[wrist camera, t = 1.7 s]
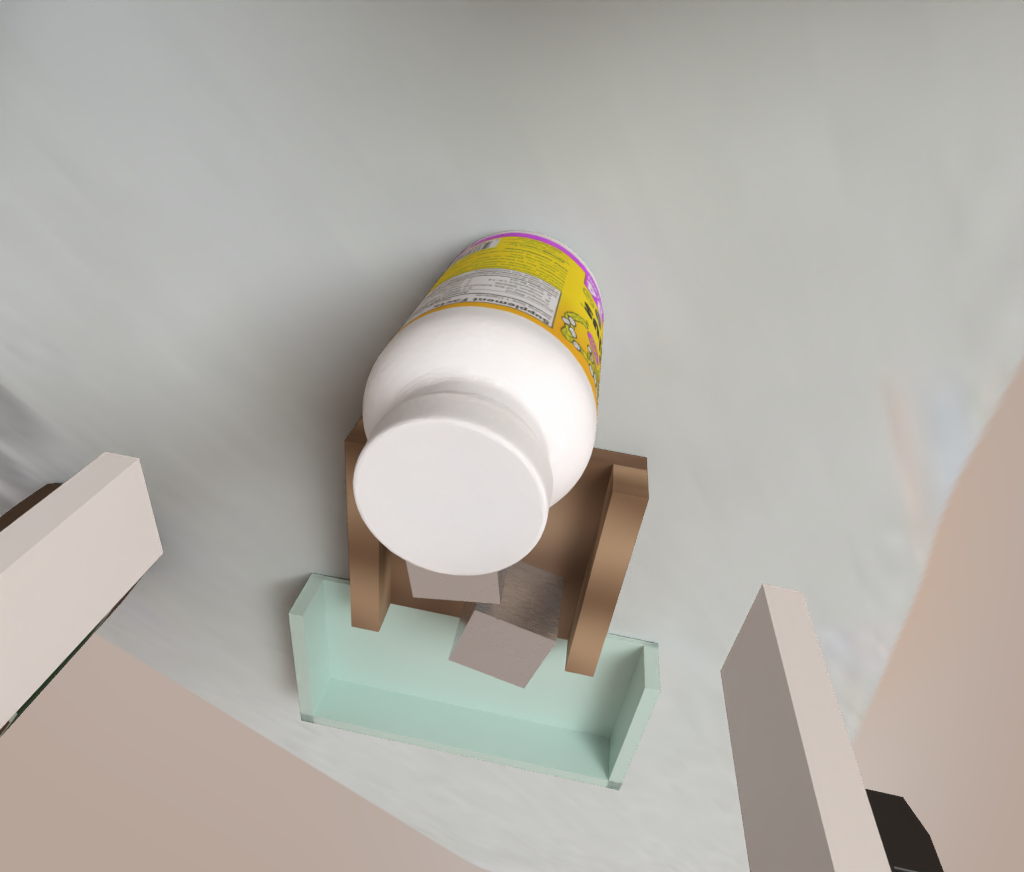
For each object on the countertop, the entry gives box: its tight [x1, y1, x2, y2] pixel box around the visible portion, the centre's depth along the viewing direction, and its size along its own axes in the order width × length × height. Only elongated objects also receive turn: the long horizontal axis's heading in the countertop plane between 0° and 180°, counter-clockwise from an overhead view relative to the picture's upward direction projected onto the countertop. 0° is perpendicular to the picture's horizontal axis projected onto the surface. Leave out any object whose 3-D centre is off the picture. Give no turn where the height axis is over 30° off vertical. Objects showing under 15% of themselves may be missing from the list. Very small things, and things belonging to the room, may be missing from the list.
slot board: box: [345, 415, 649, 677], centre depth 30 cm, size 12×13×3 cm
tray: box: [288, 573, 661, 790], centre depth 36 cm, size 10×20×3 cm, turn 83°
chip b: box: [448, 561, 564, 688], centre depth 31 cm, size 4×4×4 cm
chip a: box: [406, 561, 508, 604], centre depth 28 cm, size 4×4×4 cm
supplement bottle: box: [353, 231, 604, 576], centre depth 20 cm, size 7×7×13 cm
